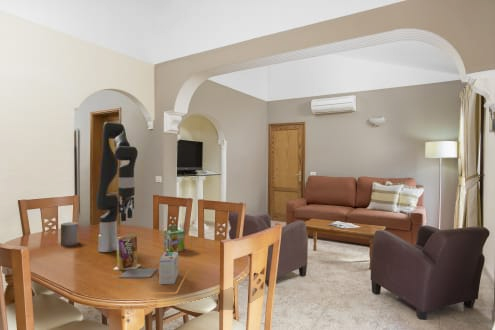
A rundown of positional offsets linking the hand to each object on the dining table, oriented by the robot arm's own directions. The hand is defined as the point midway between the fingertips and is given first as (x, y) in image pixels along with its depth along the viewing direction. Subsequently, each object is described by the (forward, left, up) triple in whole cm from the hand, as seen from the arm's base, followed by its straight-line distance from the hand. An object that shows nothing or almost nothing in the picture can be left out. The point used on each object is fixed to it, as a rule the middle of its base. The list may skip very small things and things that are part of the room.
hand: (126, 219), depth 149 cm
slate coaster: (+9, -9, -24) cm, 27 cm away
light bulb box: (+25, -16, -24) cm, 38 cm away
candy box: (0, 0, -24) cm, 24 cm away
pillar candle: (-53, +42, -24) cm, 72 cm away
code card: (0, 0, -24) cm, 24 cm away
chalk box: (+17, +28, -24) cm, 41 cm away
